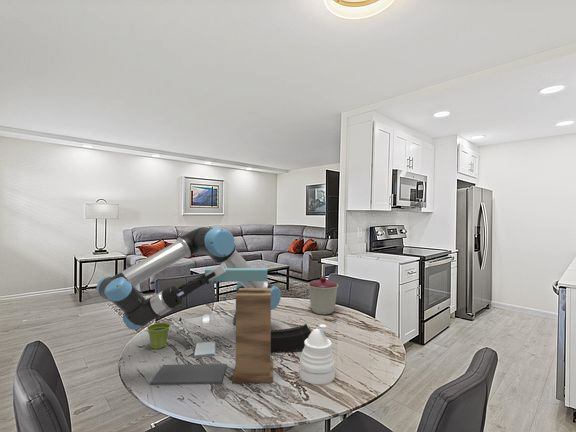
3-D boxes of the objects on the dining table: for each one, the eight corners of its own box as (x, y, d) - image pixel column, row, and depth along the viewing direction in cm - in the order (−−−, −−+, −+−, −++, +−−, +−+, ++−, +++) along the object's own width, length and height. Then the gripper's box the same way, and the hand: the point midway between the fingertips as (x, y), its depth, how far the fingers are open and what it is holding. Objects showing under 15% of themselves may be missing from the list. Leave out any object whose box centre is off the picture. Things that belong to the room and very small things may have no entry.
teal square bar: (207, 279, 111) (207, 268, 111) (267, 278, 112) (267, 268, 112) (204, 281, 107) (204, 270, 107) (267, 281, 108) (267, 270, 108)
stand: (236, 365, 116) (236, 287, 115) (273, 365, 116) (273, 287, 116) (232, 383, 104) (232, 296, 103) (272, 382, 104) (273, 295, 104)
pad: (163, 366, 114) (163, 364, 114) (227, 365, 116) (227, 363, 116) (150, 384, 103) (150, 382, 102) (221, 383, 104) (221, 381, 104)
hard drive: (214, 353, 123) (215, 340, 136) (193, 355, 122) (196, 342, 134) (214, 357, 123) (215, 344, 136) (193, 359, 122) (196, 346, 134)
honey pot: (336, 367, 115) (336, 320, 115) (333, 386, 102) (333, 333, 102) (302, 363, 118) (303, 317, 117) (296, 381, 105) (296, 330, 105)
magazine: (237, 333, 124) (306, 310, 128) (238, 330, 128) (305, 307, 131) (249, 372, 125) (317, 348, 129) (249, 368, 128) (316, 344, 132)
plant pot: (172, 341, 138) (172, 322, 137) (167, 350, 128) (167, 329, 128) (150, 342, 136) (150, 323, 136) (144, 351, 127) (144, 331, 127)
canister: (321, 305, 192) (321, 272, 192) (344, 312, 179) (344, 276, 179) (301, 311, 180) (301, 276, 180) (324, 319, 167) (324, 281, 166)
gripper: (152, 297, 100) (215, 261, 101) (170, 285, 117) (223, 254, 118) (164, 316, 100) (226, 281, 101) (180, 301, 117) (233, 271, 118)
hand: (224, 267), depth 109 cm, fingers closed on teal square bar, 4 cm apart
